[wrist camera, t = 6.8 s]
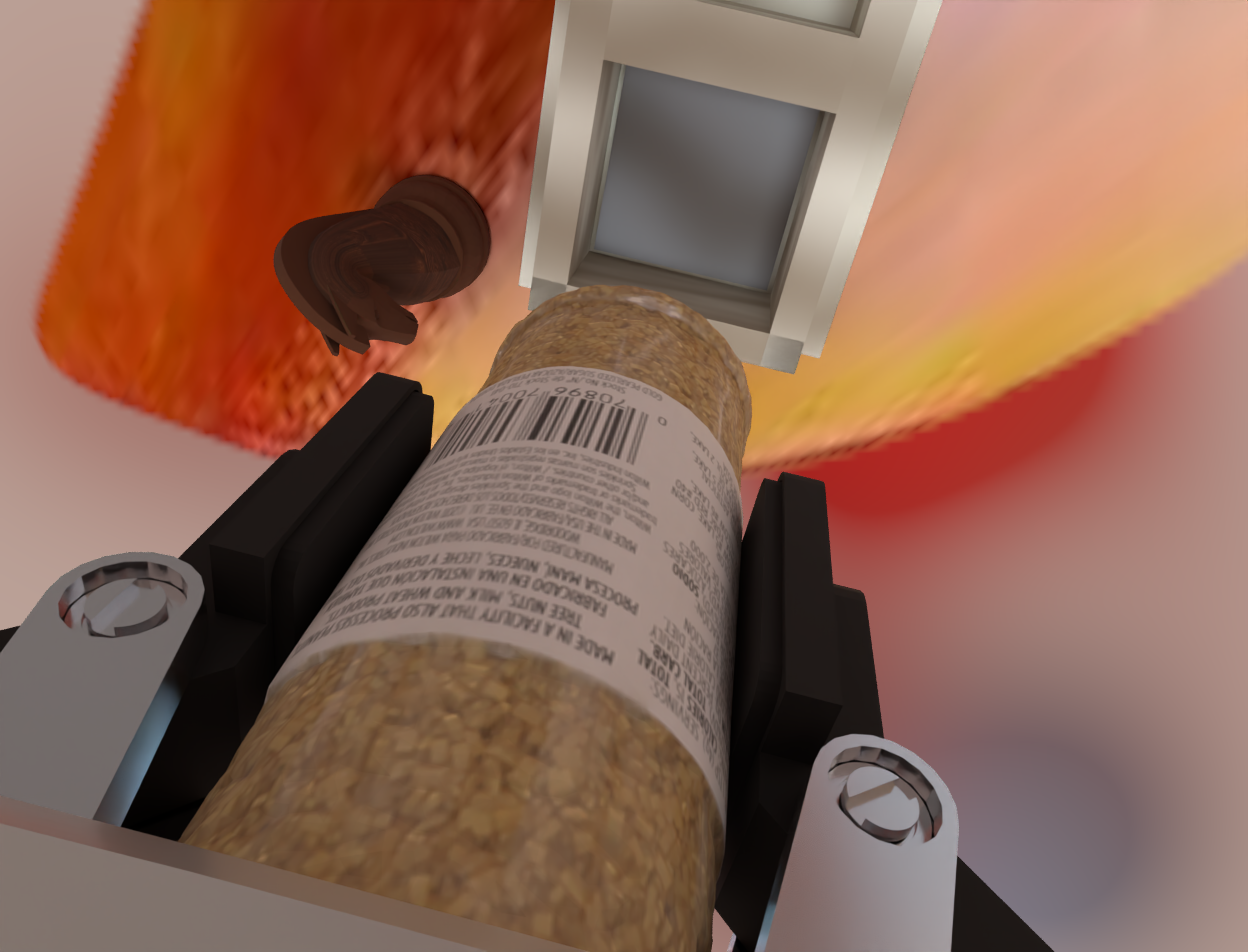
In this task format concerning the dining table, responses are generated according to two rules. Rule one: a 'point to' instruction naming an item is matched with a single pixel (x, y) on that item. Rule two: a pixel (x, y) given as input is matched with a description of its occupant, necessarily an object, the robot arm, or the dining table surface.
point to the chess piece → (383, 261)
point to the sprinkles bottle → (529, 651)
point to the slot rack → (719, 155)
